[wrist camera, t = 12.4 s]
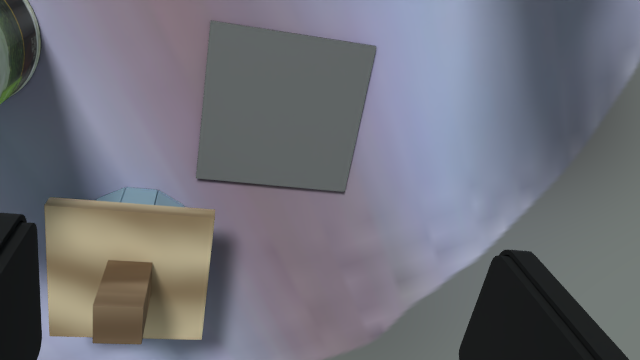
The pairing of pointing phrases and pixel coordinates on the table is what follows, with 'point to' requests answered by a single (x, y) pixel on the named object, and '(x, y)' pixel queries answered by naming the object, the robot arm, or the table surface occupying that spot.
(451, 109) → the table surface
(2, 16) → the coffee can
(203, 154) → the mat
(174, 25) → the table surface
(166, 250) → the lid
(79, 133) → the table surface
